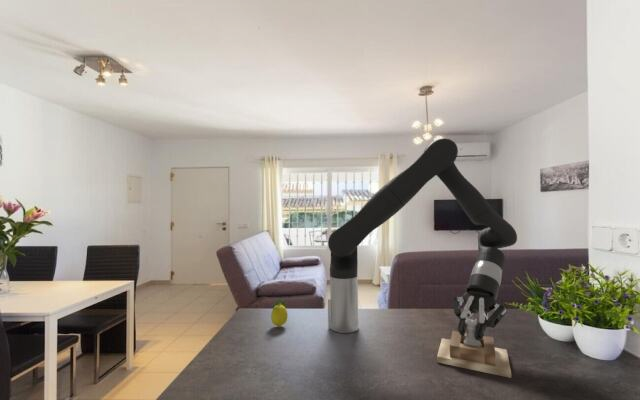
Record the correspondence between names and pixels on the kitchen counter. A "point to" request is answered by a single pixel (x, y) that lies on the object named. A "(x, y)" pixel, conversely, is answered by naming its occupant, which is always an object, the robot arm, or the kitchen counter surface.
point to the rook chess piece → (471, 332)
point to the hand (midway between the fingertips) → (469, 336)
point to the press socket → (474, 355)
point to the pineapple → (279, 314)
